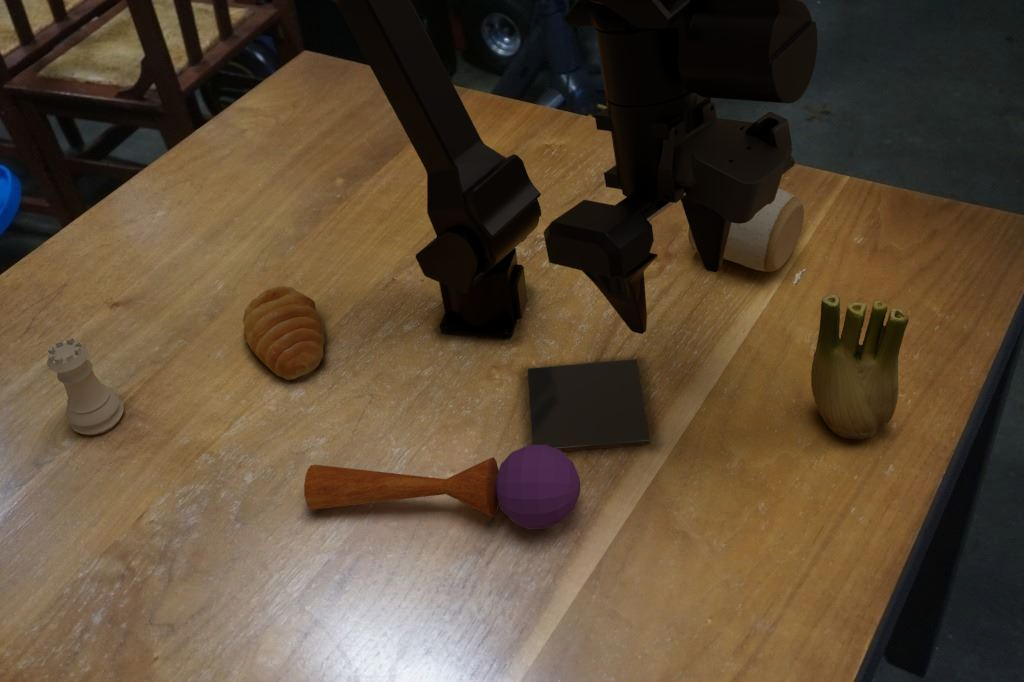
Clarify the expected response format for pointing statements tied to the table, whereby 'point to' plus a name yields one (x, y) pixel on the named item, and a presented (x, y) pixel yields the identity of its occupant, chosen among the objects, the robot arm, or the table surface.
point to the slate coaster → (588, 406)
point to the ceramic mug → (765, 234)
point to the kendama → (464, 486)
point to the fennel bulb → (857, 367)
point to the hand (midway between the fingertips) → (677, 300)
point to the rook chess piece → (84, 389)
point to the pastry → (285, 331)
